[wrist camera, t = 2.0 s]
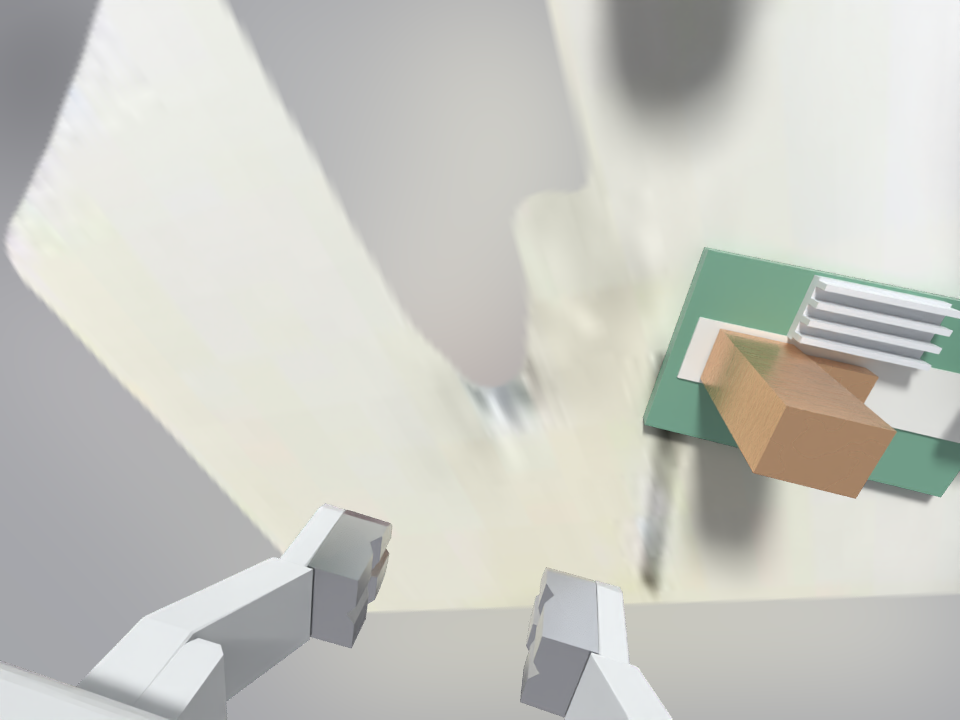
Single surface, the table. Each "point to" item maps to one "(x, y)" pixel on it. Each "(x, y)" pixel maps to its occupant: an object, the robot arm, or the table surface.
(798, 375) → the tall wooden block
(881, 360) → the board
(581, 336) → the table surface
